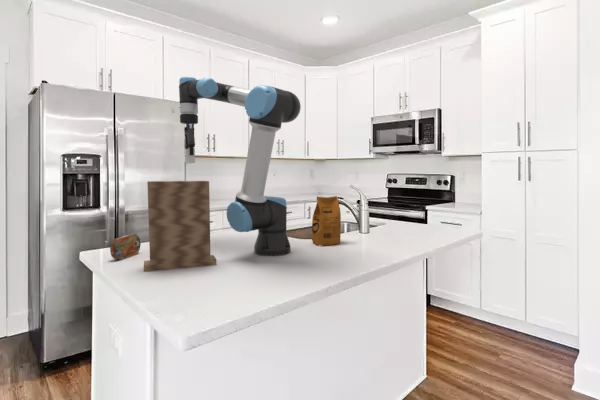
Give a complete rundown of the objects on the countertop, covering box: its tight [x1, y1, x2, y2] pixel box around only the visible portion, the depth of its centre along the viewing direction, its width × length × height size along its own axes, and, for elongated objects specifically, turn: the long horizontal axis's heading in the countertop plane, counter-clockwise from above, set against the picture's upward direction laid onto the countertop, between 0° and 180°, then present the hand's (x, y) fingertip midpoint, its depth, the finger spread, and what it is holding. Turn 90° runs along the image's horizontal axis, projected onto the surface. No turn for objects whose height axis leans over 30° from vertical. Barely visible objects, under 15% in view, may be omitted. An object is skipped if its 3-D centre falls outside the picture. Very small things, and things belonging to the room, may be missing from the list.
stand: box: [143, 180, 217, 272], centre depth 129 cm, size 24×7×30 cm, turn 112°
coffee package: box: [311, 195, 342, 246], centre depth 168 cm, size 10×12×22 cm
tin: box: [109, 233, 141, 261], centre depth 142 cm, size 15×3×8 cm, turn 168°
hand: (190, 163), depth 161 cm, fingers open, 13 cm apart
